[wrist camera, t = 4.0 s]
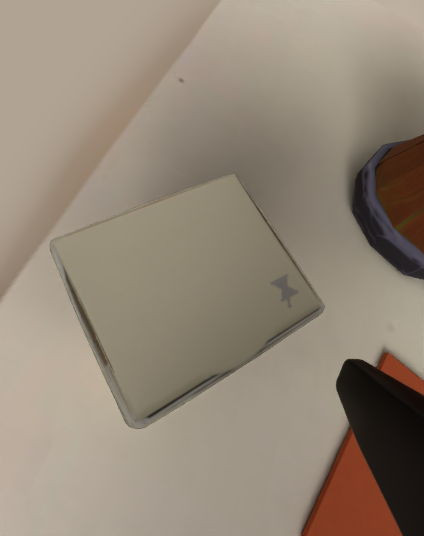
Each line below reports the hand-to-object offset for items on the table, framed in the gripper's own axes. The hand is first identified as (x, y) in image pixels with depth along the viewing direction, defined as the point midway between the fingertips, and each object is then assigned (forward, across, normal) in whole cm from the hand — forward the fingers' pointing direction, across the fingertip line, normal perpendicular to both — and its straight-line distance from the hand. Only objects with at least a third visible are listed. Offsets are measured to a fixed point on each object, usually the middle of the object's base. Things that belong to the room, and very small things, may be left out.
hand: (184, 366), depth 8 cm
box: (+8, 0, +5) cm, 9 cm away
